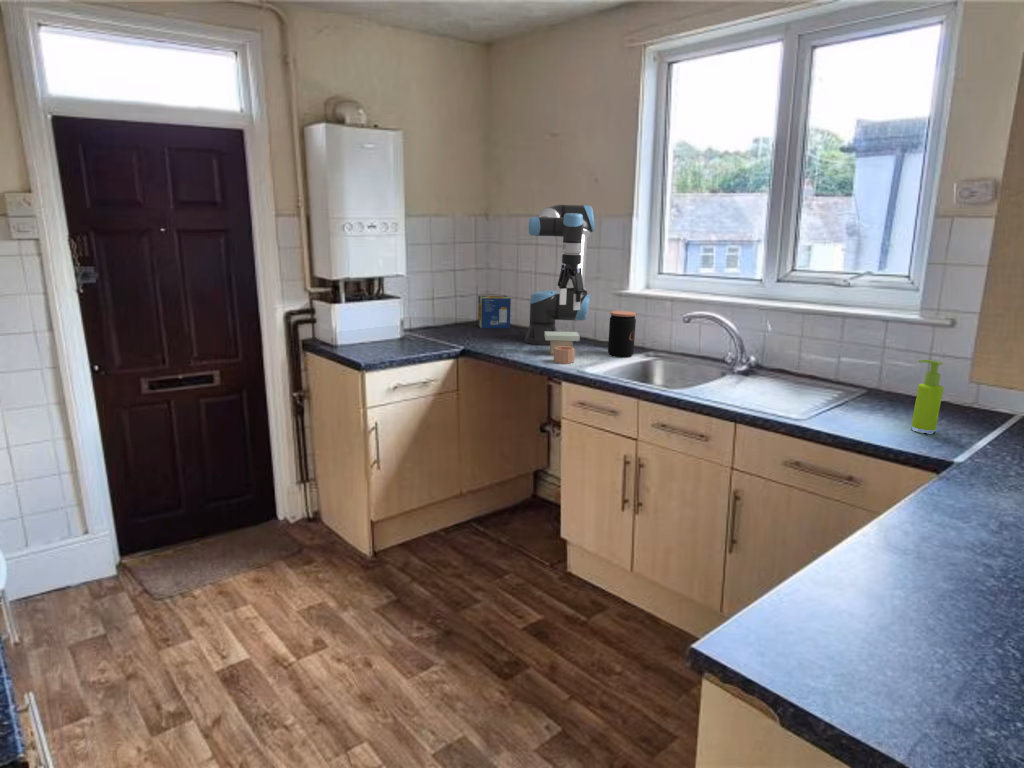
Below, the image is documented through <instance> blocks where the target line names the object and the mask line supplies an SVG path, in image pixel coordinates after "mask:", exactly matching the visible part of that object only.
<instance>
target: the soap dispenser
mask: <svg viewBox="0 0 1024 768" xmlns="http://www.w3.org/2000/svg"><path fill="white" fill-rule="evenodd" d="M918 363H927V364H930V369H929V371H927V372H925V376H924V382H923V383H919V384H918V386H917V392H916V398H915V403H914V408H913V415H912V420H911V425H912V426H913V427H915V428H918V429H924V430H935V429H936V430H937V425H938V419H939V414H940V409H941V404H942V398H943V392H944V387H943V386H942V385H940V378H941V373H939V371H938V369H939V366H942V364H943V362H941V361H939V360H938V361H937V360H932V359H920V360H918Z"/></svg>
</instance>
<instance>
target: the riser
mask: <svg viewBox="0 0 1024 768" xmlns="http://www.w3.org/2000/svg"><path fill="white" fill-rule="evenodd" d="M558 346H568V347H573V346H574V341H555V340H550V345H549V353H550V356H554V347H558ZM573 348H574V347H573Z"/></svg>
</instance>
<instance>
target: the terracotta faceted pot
mask: <svg viewBox="0 0 1024 768" xmlns="http://www.w3.org/2000/svg"><path fill="white" fill-rule="evenodd" d="M575 352H576V349H575V347H568V346H558V347H554V355H553V363H555V362H556V363H555V364H559V363H561V364H560V365H570V364H571V363H572V364H574V362H575Z"/></svg>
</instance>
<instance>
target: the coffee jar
mask: <svg viewBox="0 0 1024 768" xmlns="http://www.w3.org/2000/svg"><path fill="white" fill-rule="evenodd" d="M609 315H610V318H609V328H608V340H607V341H608V344H607V353H608V354H609V356H610V355H611V357H613V356H615V357H614V358H623V357H624V358H629V357H628V356H631V355H632V356H633V355H634V353H635V352H634V351H635V340H636V339H635V337H636V325H637V318H636V316H637V313H636V312H634V311H631V310H630V311H629V310H612V311H610V313H609ZM632 356H631V357H632Z"/></svg>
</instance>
